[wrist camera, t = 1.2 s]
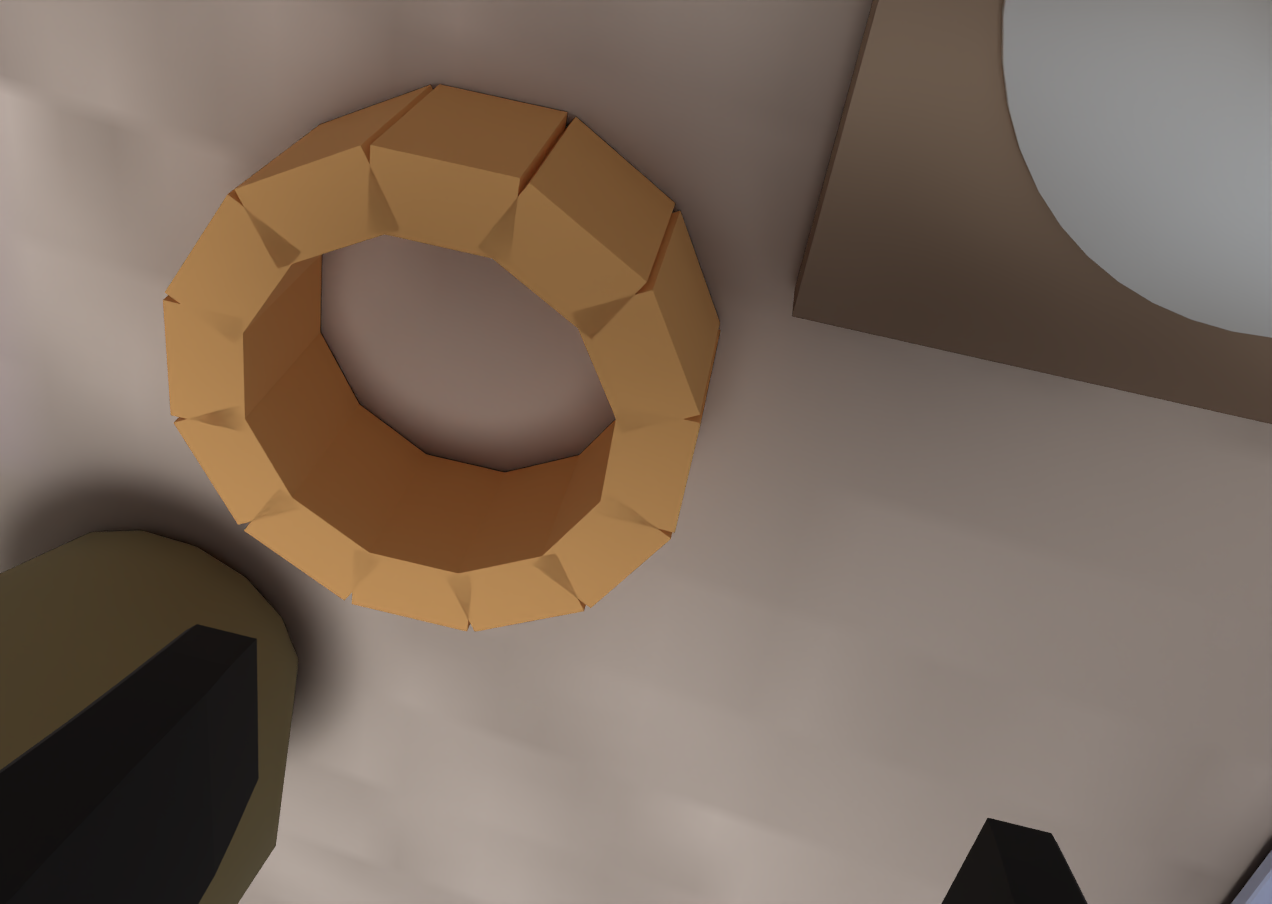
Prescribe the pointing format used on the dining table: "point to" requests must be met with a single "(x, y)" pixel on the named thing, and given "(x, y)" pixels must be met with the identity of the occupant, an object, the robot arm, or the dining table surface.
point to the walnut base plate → (1060, 192)
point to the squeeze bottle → (139, 655)
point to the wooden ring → (372, 451)
